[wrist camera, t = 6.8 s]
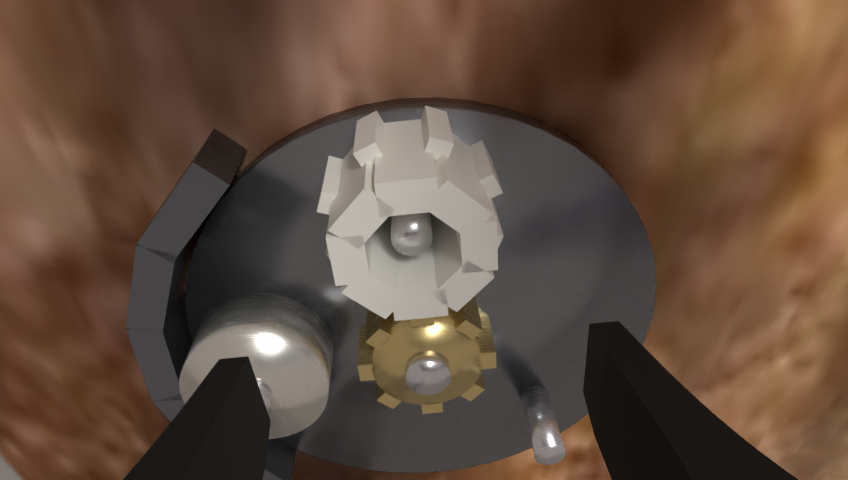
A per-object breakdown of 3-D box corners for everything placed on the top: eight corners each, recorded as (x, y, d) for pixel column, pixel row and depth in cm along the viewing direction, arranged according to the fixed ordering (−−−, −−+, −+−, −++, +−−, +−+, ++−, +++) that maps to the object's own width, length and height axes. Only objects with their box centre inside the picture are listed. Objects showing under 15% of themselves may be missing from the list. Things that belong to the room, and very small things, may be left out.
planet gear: (525, 174, 19) (553, 240, 16) (420, 278, 22) (426, 356, 18) (396, 71, 17) (398, 123, 14) (294, 198, 19) (274, 268, 16)
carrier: (736, 282, 24) (794, 351, 20) (425, 512, 31) (429, 590, 28) (345, -62, 16) (333, -41, 13) (61, 350, 24) (8, 431, 21)
